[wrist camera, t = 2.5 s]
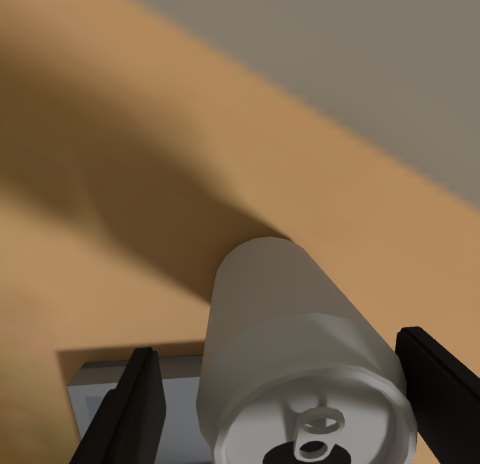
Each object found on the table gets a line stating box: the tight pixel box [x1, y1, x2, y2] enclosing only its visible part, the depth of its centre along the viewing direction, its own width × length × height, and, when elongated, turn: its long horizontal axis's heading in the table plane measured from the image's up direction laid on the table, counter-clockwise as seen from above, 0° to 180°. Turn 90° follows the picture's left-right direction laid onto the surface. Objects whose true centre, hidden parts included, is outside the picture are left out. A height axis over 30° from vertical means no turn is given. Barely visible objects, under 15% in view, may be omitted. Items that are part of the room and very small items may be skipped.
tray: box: [67, 355, 213, 464], centre depth 21 cm, size 12×12×2 cm
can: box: [196, 237, 418, 464], centre depth 13 cm, size 8×8×12 cm
